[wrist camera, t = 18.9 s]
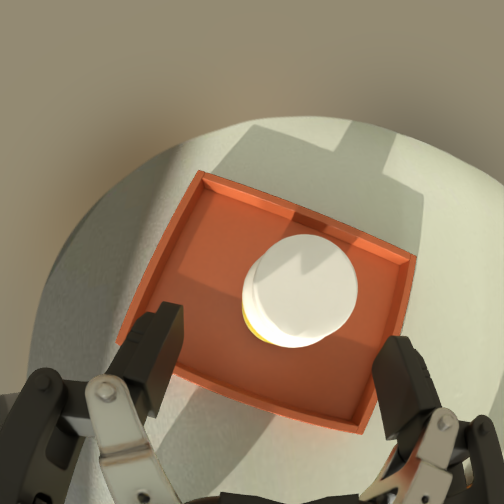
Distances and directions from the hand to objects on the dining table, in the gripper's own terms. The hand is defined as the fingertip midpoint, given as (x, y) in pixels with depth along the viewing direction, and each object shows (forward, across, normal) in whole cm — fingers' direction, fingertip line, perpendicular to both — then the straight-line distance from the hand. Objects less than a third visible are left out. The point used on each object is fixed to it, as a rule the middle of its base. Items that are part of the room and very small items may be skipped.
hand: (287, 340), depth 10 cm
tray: (+7, 0, +4) cm, 9 cm away
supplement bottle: (+7, 0, +4) cm, 8 cm away
